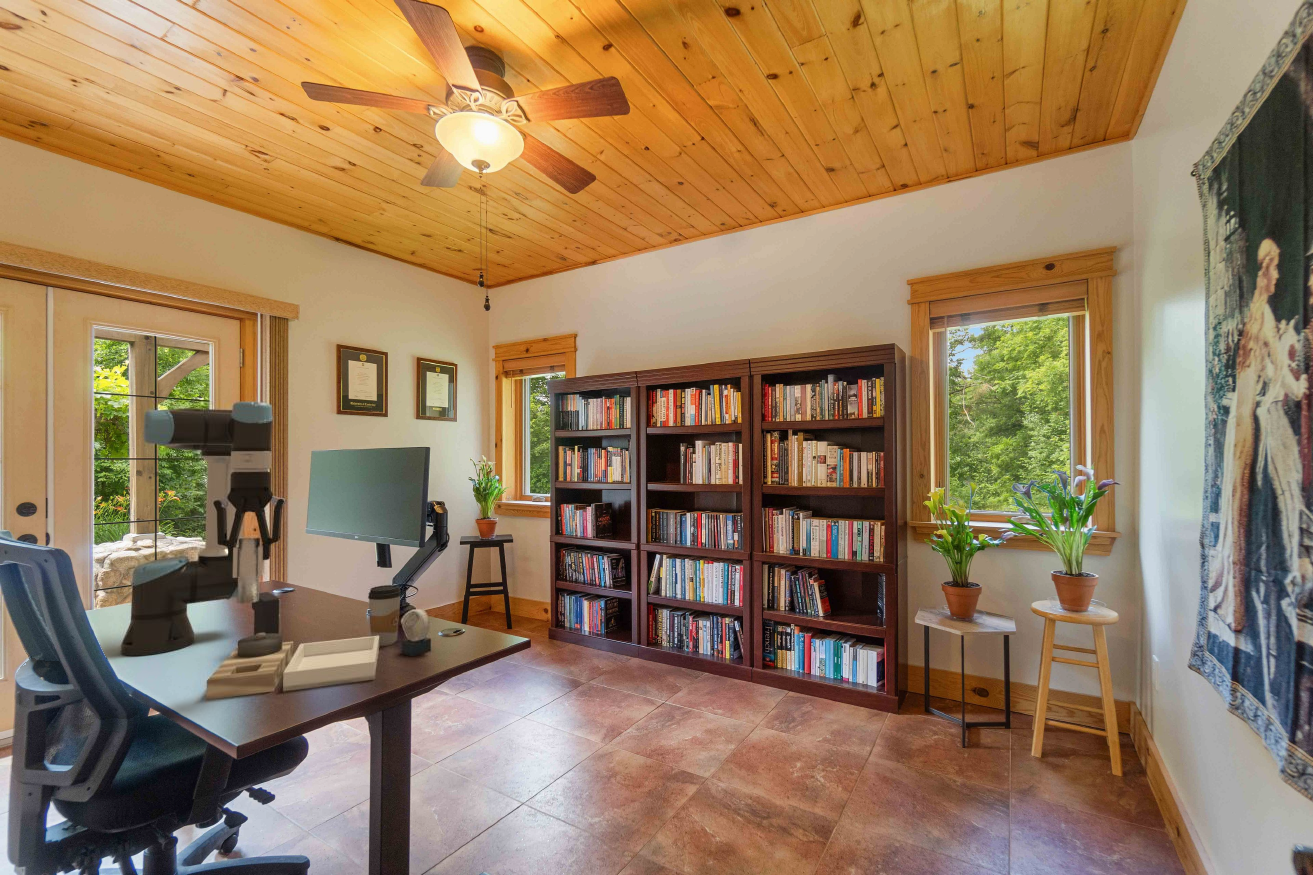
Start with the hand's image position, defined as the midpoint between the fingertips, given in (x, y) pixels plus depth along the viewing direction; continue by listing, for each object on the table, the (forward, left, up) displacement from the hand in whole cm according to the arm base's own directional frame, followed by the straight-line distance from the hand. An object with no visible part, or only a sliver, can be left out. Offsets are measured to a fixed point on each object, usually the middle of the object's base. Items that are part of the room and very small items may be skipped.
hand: (248, 575), depth 132 cm
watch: (-11, +35, -25) cm, 44 cm away
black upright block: (-25, -1, -25) cm, 35 cm away
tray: (-5, +17, -25) cm, 30 cm away
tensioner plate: (-7, 0, -25) cm, 25 cm away
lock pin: (0, 0, -6) cm, 6 cm away
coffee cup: (-23, +27, -25) cm, 43 cm away
